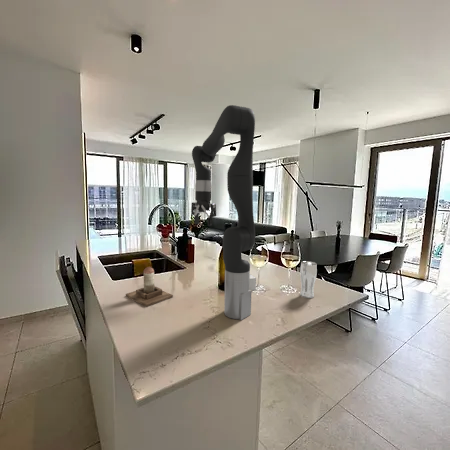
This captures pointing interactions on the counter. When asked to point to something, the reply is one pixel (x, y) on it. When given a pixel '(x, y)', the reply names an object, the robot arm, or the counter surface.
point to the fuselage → (148, 280)
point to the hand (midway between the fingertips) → (203, 224)
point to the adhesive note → (252, 283)
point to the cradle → (149, 296)
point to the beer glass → (308, 278)
